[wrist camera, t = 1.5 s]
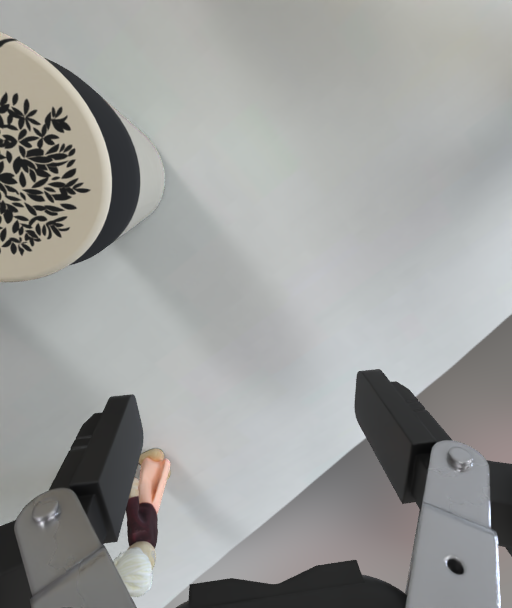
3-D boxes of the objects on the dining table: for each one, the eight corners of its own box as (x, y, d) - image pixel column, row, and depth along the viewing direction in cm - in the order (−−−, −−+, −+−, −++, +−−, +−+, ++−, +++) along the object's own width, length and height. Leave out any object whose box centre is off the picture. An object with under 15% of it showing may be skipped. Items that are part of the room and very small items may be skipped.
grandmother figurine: (184, 478, 39) (178, 608, 27) (153, 491, 39) (133, 628, 27) (154, 429, 36) (132, 551, 24) (120, 442, 36) (81, 572, 24)
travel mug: (178, 211, 29) (153, 254, 12) (85, 236, 28) (-75, 318, 12) (144, 107, 26) (48, -28, 9) (40, 133, 25) (-264, 42, 9)
